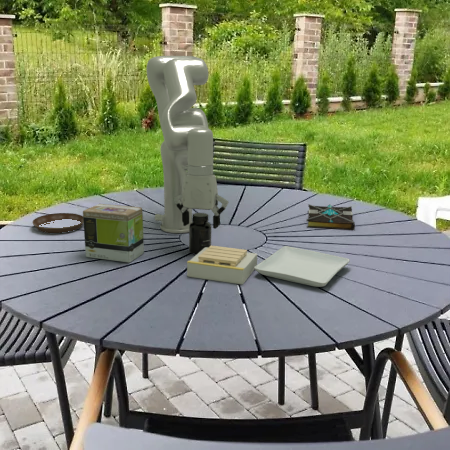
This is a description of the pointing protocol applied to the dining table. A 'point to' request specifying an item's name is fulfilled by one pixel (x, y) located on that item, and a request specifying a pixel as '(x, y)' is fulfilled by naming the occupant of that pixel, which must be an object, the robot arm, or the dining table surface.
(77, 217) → the plant saucer
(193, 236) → the supplement bottle
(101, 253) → the tea box
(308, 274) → the salad plate
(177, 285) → the dining table surface
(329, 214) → the book
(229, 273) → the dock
